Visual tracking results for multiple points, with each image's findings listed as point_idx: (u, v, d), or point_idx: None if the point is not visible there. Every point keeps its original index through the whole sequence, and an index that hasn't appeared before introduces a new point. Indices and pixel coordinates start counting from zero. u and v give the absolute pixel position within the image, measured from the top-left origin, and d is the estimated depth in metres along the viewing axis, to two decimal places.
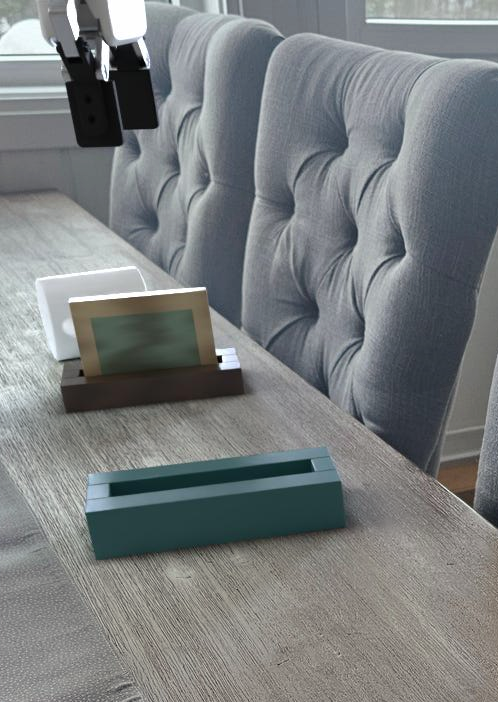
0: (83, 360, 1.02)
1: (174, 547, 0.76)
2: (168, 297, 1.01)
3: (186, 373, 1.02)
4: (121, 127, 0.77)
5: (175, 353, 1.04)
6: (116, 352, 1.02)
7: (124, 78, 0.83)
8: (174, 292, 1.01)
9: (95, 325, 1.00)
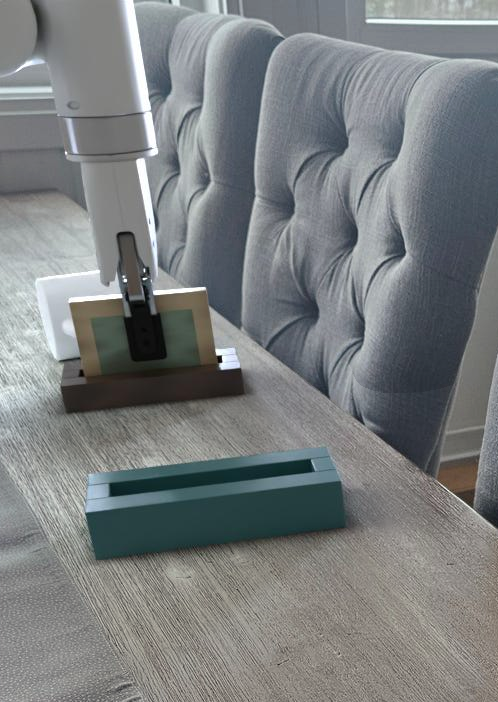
0: (83, 360, 1.02)
1: (174, 547, 0.76)
2: (168, 297, 1.01)
3: (186, 373, 1.02)
4: (165, 345, 1.02)
5: (175, 353, 1.03)
6: (116, 352, 1.02)
7: None
8: (174, 292, 1.01)
9: (95, 325, 1.00)
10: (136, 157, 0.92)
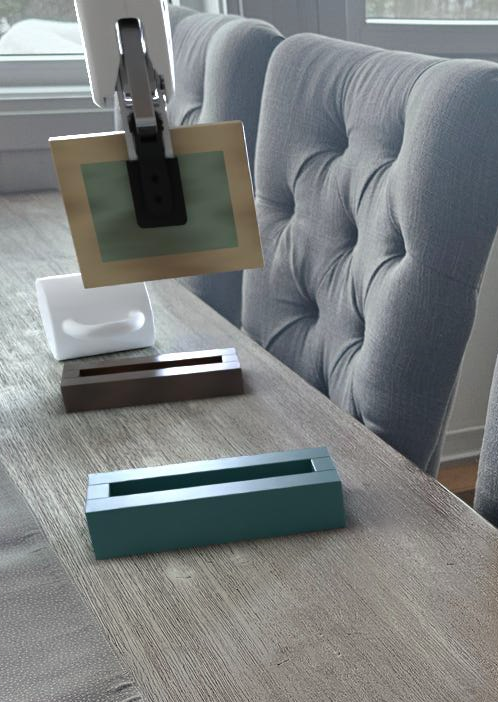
0: (72, 228, 0.72)
1: (174, 547, 0.76)
2: (189, 133, 0.71)
3: (186, 373, 1.02)
4: None
5: (201, 217, 0.74)
6: (118, 216, 0.73)
7: None
8: (197, 126, 0.71)
9: (87, 175, 0.71)
10: None
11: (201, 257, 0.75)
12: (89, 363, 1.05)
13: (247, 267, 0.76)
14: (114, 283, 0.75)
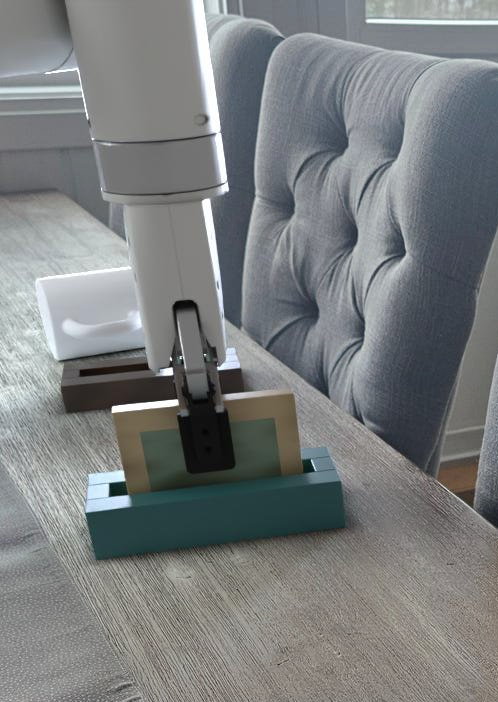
0: (129, 486, 0.76)
1: (174, 547, 0.76)
2: (243, 403, 0.75)
3: None
4: (233, 451, 0.74)
5: (250, 474, 0.78)
6: (173, 475, 0.77)
7: None
8: (251, 396, 0.76)
9: (146, 441, 0.75)
10: (201, 197, 0.66)
11: None
12: (89, 363, 1.05)
13: None
14: None
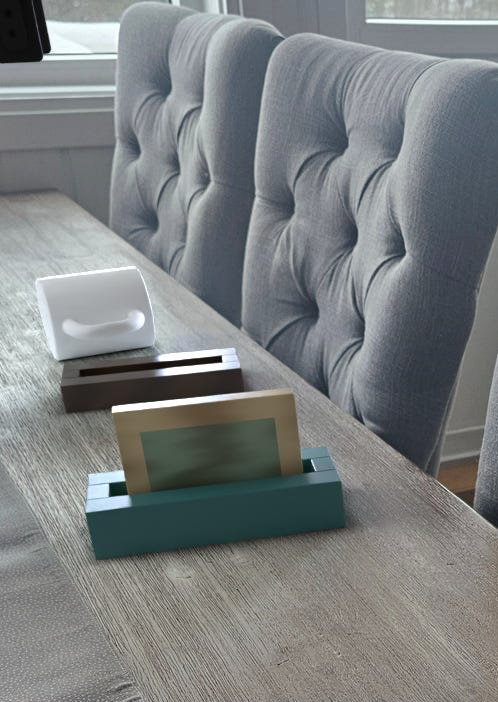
0: (129, 486, 0.76)
1: (174, 547, 0.76)
2: (243, 403, 0.75)
3: (186, 373, 1.02)
4: (40, 42, 0.78)
5: (250, 474, 0.78)
6: (173, 475, 0.77)
7: None
8: (251, 396, 0.76)
9: (146, 441, 0.75)
10: None
11: None
12: (89, 363, 1.05)
13: None
14: None
